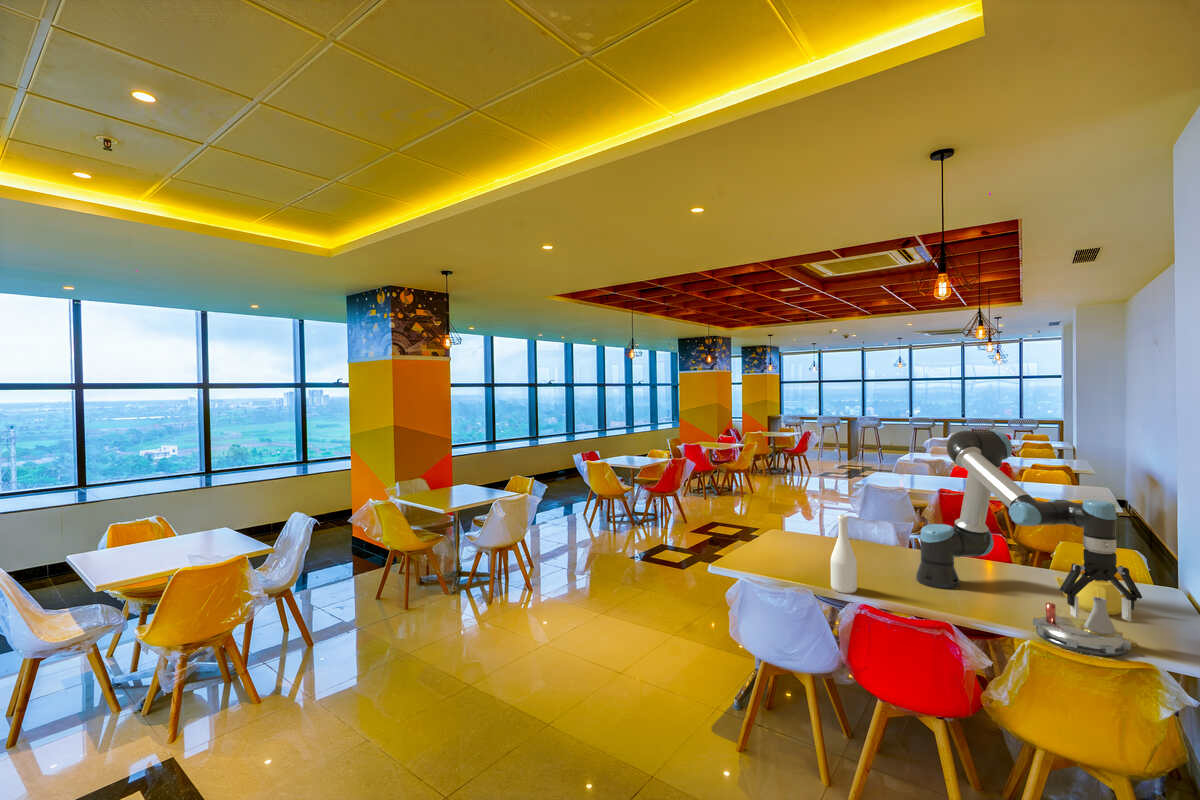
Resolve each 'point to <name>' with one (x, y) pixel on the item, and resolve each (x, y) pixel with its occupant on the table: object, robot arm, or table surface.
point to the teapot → (1098, 595)
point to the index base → (1087, 651)
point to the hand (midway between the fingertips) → (1100, 617)
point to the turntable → (1078, 633)
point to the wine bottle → (843, 561)
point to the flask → (1100, 618)
